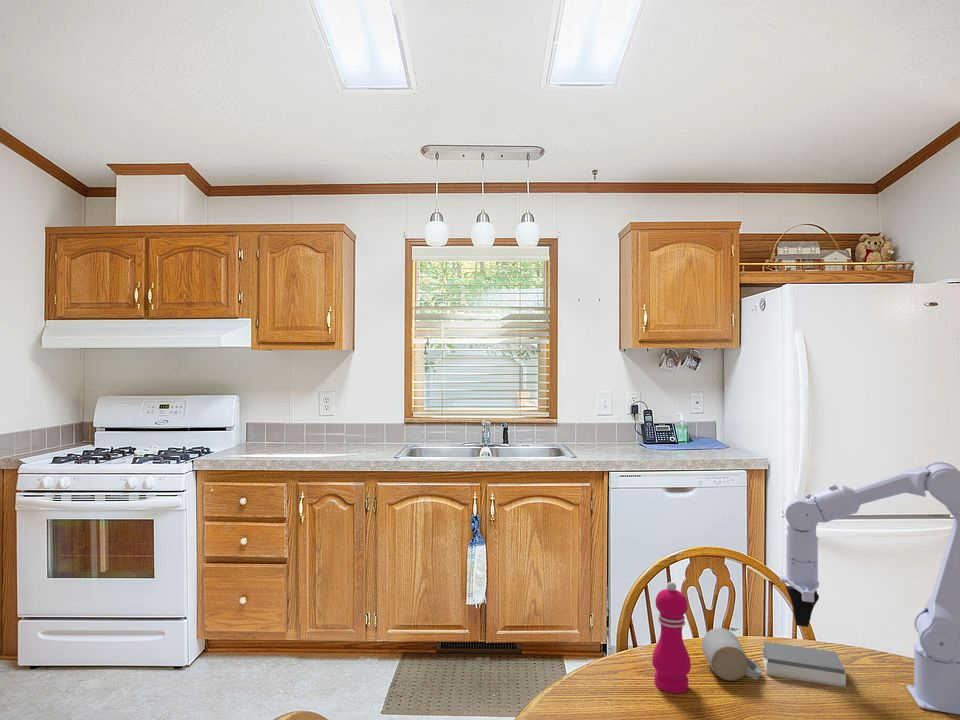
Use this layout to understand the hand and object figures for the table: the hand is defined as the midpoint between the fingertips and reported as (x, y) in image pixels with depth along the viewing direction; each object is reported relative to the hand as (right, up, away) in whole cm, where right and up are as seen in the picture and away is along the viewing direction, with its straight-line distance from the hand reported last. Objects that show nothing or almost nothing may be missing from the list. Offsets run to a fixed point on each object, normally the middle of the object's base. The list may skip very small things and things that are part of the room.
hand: (801, 625), depth 124 cm
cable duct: (0, -9, 0) cm, 9 cm away
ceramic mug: (-15, -10, -1) cm, 18 cm away
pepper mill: (-29, -9, -6) cm, 31 cm away
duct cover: (0, -7, 0) cm, 7 cm away
